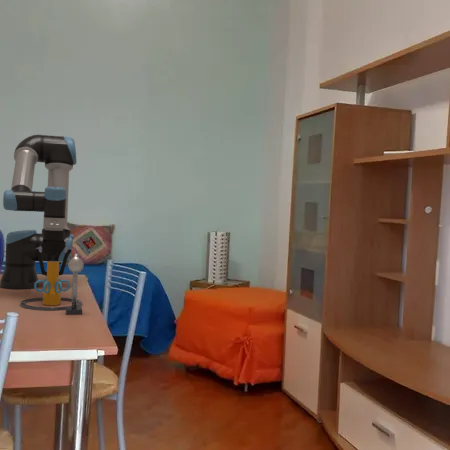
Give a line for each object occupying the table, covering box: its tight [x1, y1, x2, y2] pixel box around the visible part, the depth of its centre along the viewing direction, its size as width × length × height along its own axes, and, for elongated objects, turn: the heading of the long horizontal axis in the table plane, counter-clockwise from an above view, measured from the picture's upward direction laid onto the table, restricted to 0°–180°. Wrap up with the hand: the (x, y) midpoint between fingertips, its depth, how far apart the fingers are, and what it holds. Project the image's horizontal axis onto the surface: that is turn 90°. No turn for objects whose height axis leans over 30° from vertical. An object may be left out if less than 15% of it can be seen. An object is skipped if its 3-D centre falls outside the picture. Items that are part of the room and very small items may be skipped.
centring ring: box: [18, 296, 84, 311], centre depth 199 cm, size 21×21×1 cm
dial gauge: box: [65, 253, 85, 316], centre depth 188 cm, size 8×5×20 cm, turn 18°
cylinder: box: [33, 261, 71, 306], centre depth 199 cm, size 12×10×15 cm
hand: (51, 294), depth 206 cm, fingers closed
